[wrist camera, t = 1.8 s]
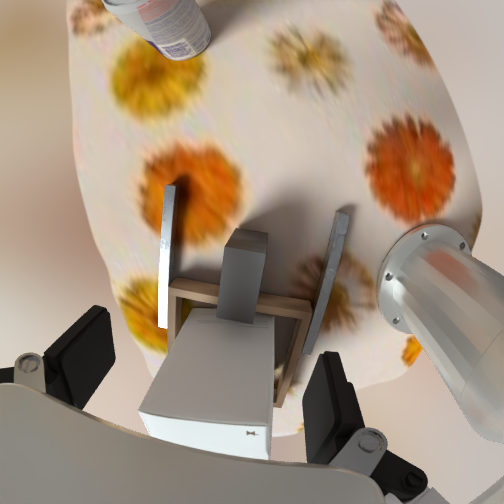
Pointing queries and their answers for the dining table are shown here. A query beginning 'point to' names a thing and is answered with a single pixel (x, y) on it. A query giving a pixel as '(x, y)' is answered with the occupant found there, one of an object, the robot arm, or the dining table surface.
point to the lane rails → (323, 287)
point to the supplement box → (216, 386)
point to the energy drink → (165, 24)
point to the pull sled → (243, 298)
